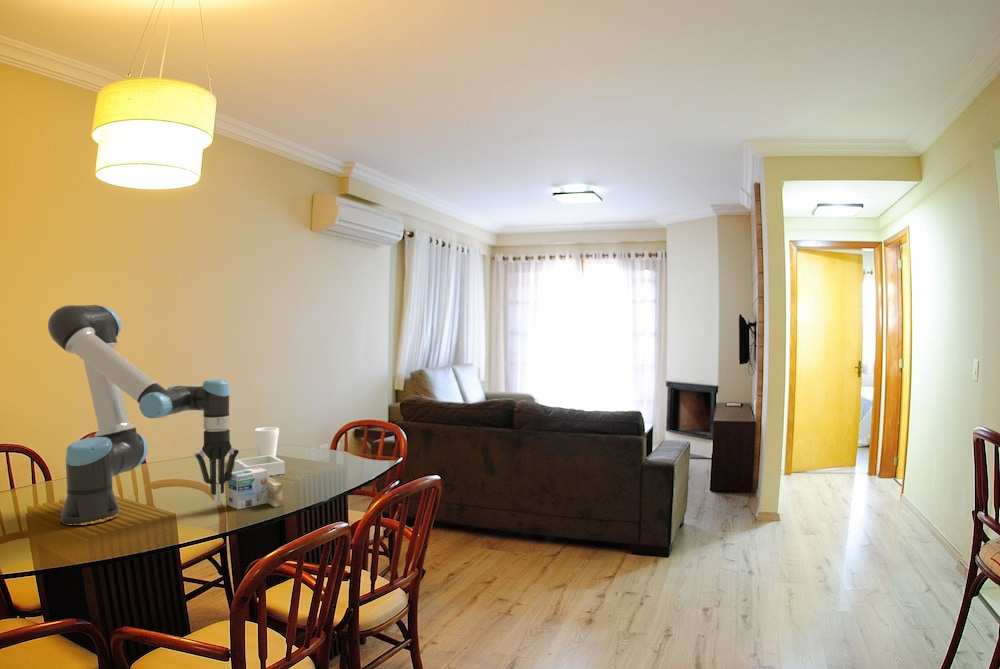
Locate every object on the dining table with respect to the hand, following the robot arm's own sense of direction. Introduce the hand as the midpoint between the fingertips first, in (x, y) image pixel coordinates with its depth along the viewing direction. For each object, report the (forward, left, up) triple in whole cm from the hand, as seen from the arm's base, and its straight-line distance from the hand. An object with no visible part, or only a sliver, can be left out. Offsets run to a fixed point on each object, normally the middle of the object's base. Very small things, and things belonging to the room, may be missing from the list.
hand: (217, 504), depth 211 cm
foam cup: (+35, +58, -2) cm, 68 cm away
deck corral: (+25, +37, -2) cm, 45 cm away
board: (+16, +1, -2) cm, 16 cm away
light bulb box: (+9, 0, -2) cm, 10 cm away
